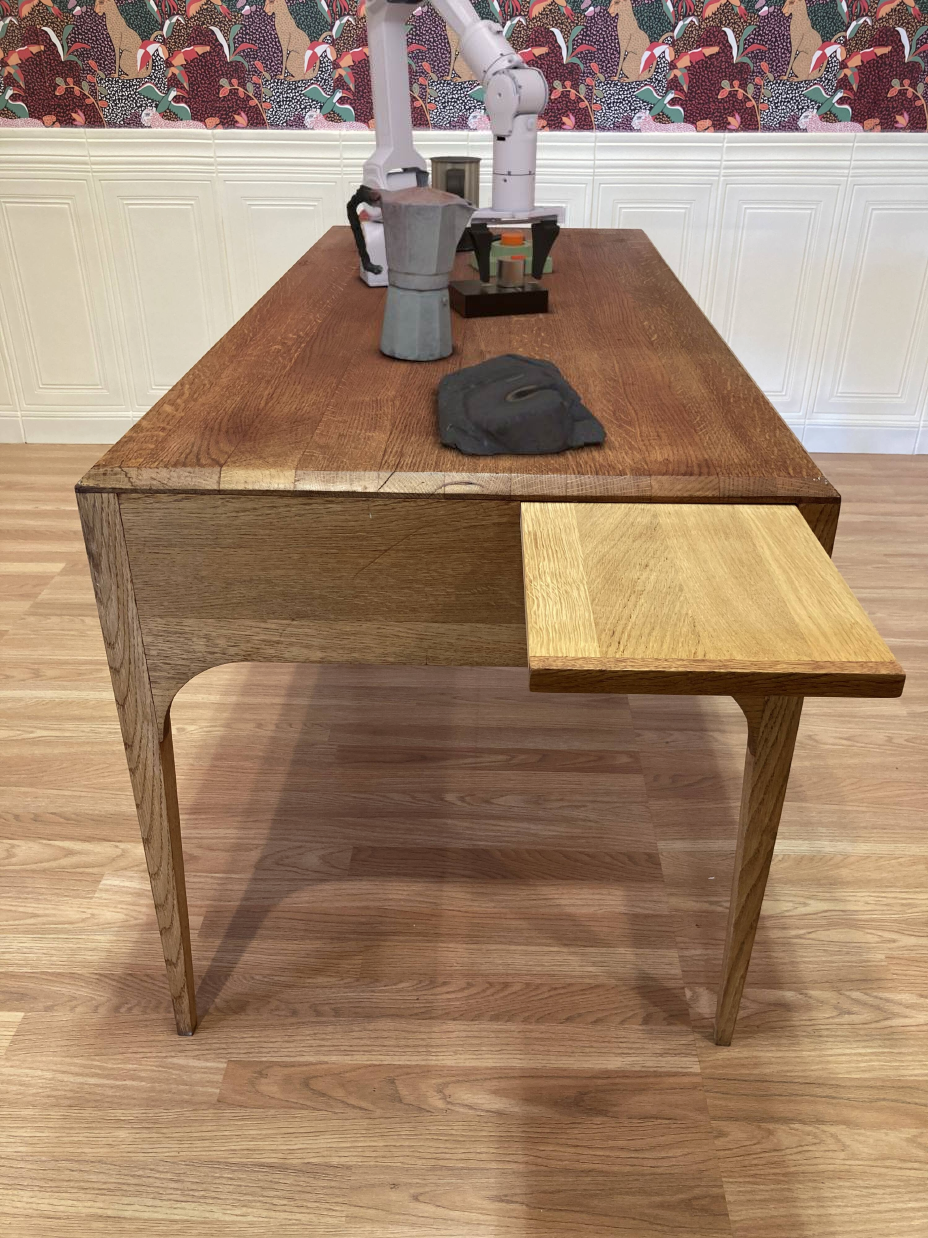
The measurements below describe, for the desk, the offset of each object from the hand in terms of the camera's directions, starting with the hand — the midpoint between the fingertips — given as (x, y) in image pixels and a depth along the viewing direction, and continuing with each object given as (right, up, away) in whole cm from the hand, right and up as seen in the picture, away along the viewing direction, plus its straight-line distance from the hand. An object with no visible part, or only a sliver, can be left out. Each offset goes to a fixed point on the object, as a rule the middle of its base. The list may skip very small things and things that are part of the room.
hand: (510, 279), depth 134 cm
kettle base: (+1, +10, +25) cm, 27 cm away
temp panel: (-2, -3, +1) cm, 4 cm away
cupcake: (-22, +21, +42) cm, 52 cm away
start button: (+1, +14, +23) cm, 27 cm away
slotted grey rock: (-2, -27, -38) cm, 47 cm away
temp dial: (0, -1, 0) cm, 1 cm away
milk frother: (-4, +20, +40) cm, 45 cm away
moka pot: (-13, -15, -18) cm, 27 cm away
